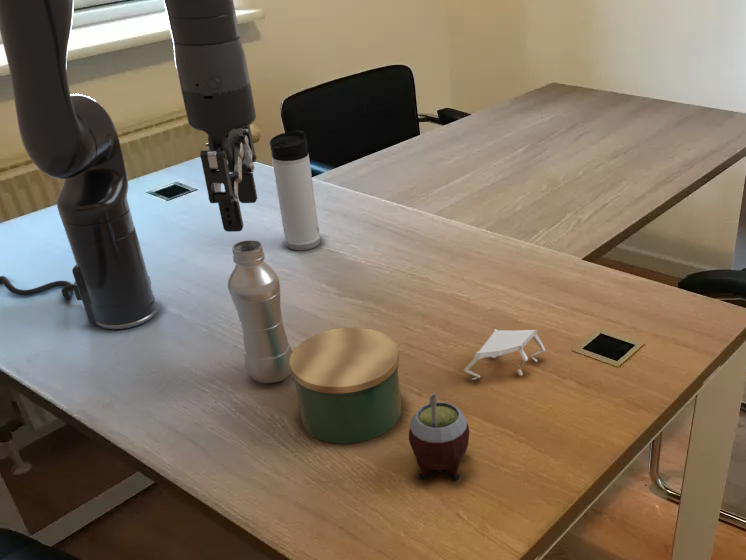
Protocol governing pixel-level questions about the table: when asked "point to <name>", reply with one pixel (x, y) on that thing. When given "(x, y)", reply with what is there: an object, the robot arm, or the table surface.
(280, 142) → the travel mug
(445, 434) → the mate gourd
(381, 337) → the crock
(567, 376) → the table surface
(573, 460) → the table surface
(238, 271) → the silver metal bottle
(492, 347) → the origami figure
